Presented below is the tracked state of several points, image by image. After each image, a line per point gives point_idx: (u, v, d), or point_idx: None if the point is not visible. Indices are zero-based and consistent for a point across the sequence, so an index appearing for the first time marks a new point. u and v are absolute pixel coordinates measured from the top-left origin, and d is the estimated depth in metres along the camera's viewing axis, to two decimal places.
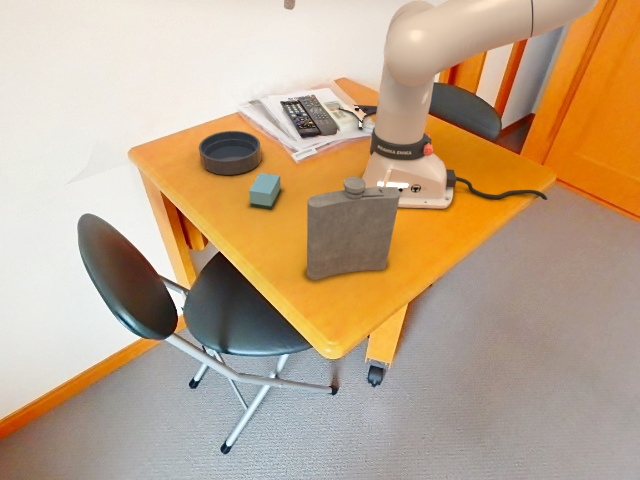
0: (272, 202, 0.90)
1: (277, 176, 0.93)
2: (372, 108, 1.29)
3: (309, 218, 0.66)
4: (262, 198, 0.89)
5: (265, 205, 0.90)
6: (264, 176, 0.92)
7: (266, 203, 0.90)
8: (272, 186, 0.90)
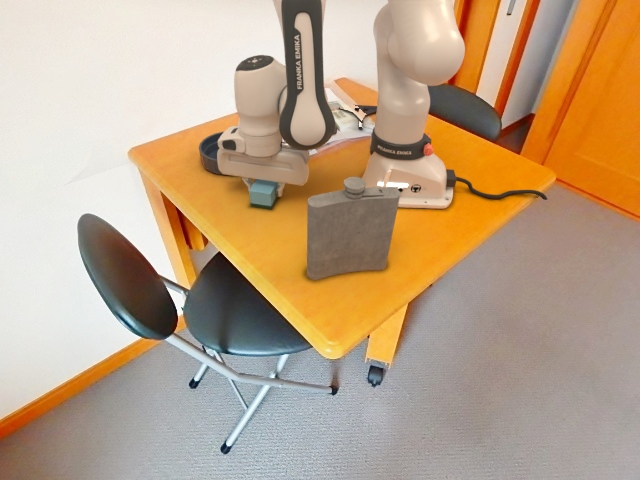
0: (272, 202, 0.90)
1: None
2: (372, 108, 1.29)
3: (309, 218, 0.66)
4: (262, 198, 0.89)
5: (266, 205, 0.90)
6: None
7: (266, 203, 0.90)
8: (272, 186, 0.90)
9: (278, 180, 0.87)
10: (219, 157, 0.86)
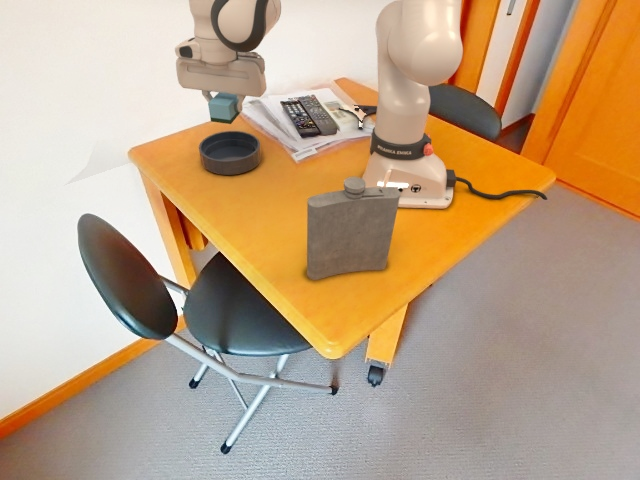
0: (231, 116, 0.93)
1: None
2: (372, 108, 1.29)
3: (309, 218, 0.66)
4: (221, 111, 0.91)
5: (225, 119, 0.92)
6: (224, 93, 0.95)
7: (225, 117, 0.92)
8: (231, 100, 0.92)
9: (236, 92, 0.89)
10: (178, 68, 0.88)
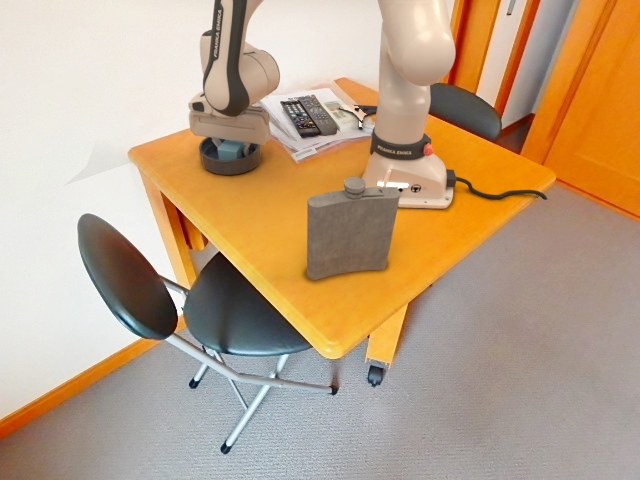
0: None
1: None
2: (372, 108, 1.29)
3: (309, 218, 0.66)
4: (229, 156, 1.00)
5: None
6: None
7: None
8: (238, 146, 1.01)
9: (243, 140, 0.99)
10: (190, 119, 0.97)
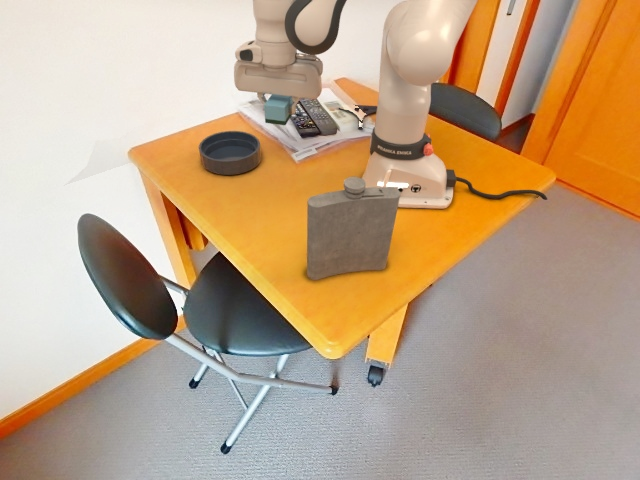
0: (286, 118, 0.94)
1: None
2: (372, 108, 1.29)
3: (309, 218, 0.66)
4: (276, 112, 0.92)
5: (280, 120, 0.94)
6: None
7: (280, 118, 0.93)
8: (286, 102, 0.93)
9: (292, 94, 0.91)
10: (236, 71, 0.89)
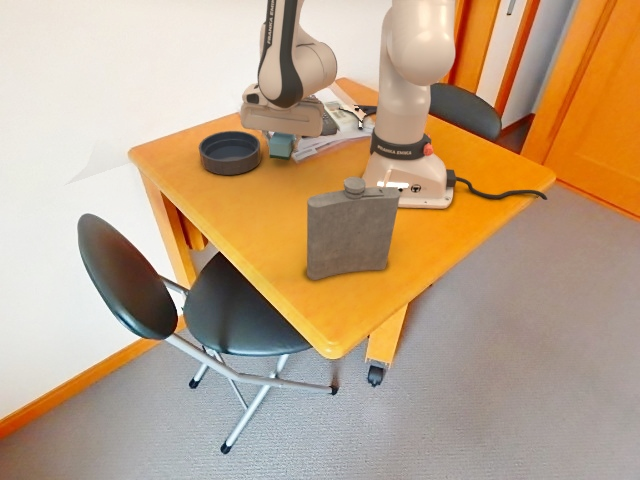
0: (289, 153, 1.00)
1: None
2: (372, 108, 1.29)
3: (309, 218, 0.66)
4: (280, 149, 0.99)
5: (283, 156, 1.00)
6: None
7: (284, 154, 0.99)
8: (289, 139, 0.99)
9: (295, 132, 0.97)
10: (242, 111, 0.95)
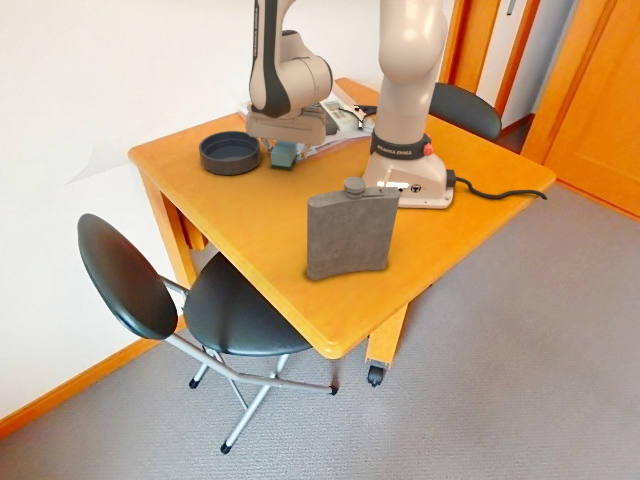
0: (290, 163, 1.02)
1: None
2: (372, 108, 1.29)
3: (309, 218, 0.66)
4: (282, 159, 1.01)
5: (285, 166, 1.02)
6: (283, 141, 1.05)
7: (285, 164, 1.02)
8: (291, 149, 1.02)
9: (299, 141, 0.99)
10: (247, 120, 0.98)
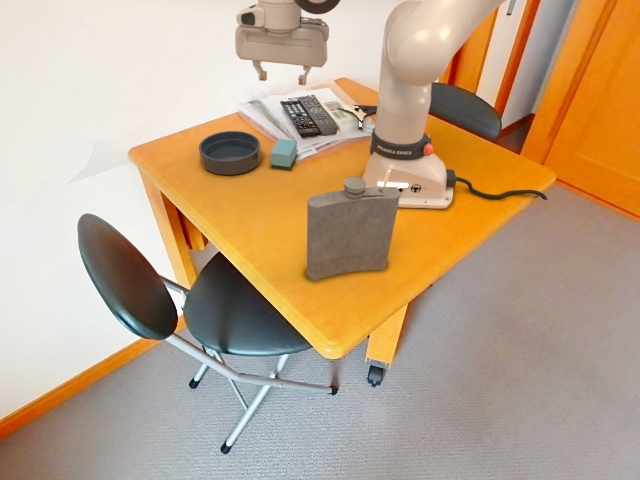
0: (290, 163, 1.02)
1: (294, 141, 1.05)
2: (372, 108, 1.29)
3: (309, 218, 0.66)
4: (282, 159, 1.01)
5: (285, 166, 1.02)
6: (283, 141, 1.05)
7: (285, 164, 1.02)
8: (291, 149, 1.02)
9: (296, 62, 0.86)
10: (237, 37, 0.85)
